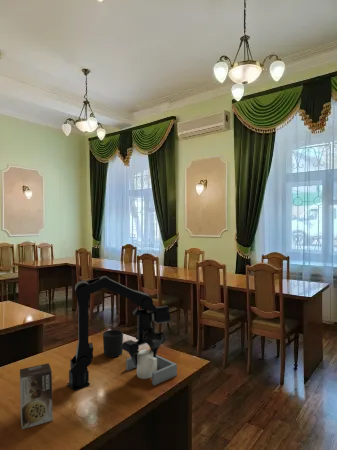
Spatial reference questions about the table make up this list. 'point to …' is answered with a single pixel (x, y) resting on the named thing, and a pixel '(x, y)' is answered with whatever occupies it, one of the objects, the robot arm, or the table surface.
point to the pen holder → (112, 343)
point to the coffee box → (36, 395)
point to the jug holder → (165, 372)
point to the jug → (146, 364)
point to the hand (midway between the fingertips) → (144, 362)
